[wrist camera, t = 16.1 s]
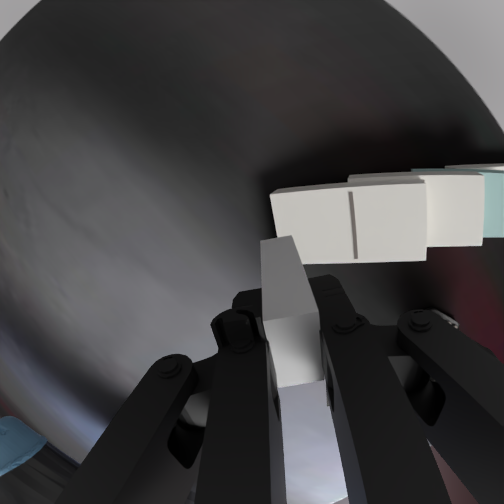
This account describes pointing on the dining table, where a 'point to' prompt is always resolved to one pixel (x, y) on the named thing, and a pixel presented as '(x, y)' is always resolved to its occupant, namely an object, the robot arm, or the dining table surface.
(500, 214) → the domino
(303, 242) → the domino
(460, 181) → the domino
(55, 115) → the dining table surface
